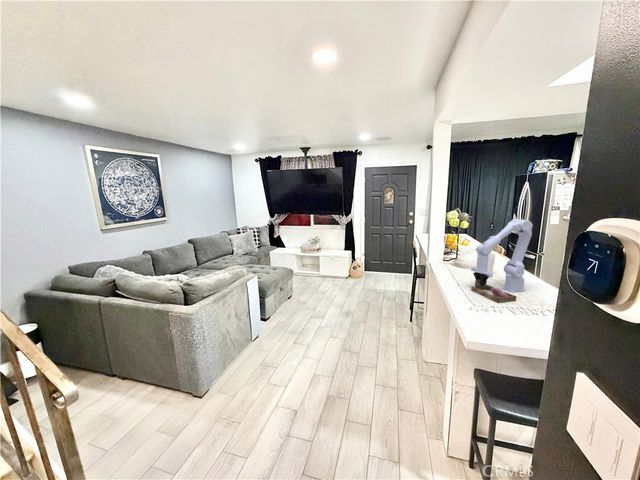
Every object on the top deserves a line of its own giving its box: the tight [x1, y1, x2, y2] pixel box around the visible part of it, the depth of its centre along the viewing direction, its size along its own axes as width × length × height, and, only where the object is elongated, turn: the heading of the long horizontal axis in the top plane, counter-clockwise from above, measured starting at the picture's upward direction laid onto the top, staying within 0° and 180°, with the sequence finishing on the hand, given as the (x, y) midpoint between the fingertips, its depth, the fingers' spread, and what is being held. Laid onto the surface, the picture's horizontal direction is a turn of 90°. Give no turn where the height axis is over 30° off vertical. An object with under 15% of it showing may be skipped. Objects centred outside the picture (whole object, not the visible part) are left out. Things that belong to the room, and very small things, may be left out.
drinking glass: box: [487, 253, 496, 274], centre depth 190 cm, size 7×7×15 cm
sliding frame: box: [470, 279, 517, 304], centre depth 152 cm, size 20×12×6 cm, turn 12°
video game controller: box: [489, 286, 509, 298], centre depth 148 cm, size 10×5×7 cm, turn 6°
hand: (480, 284), depth 160 cm, fingers open, 3 cm apart
